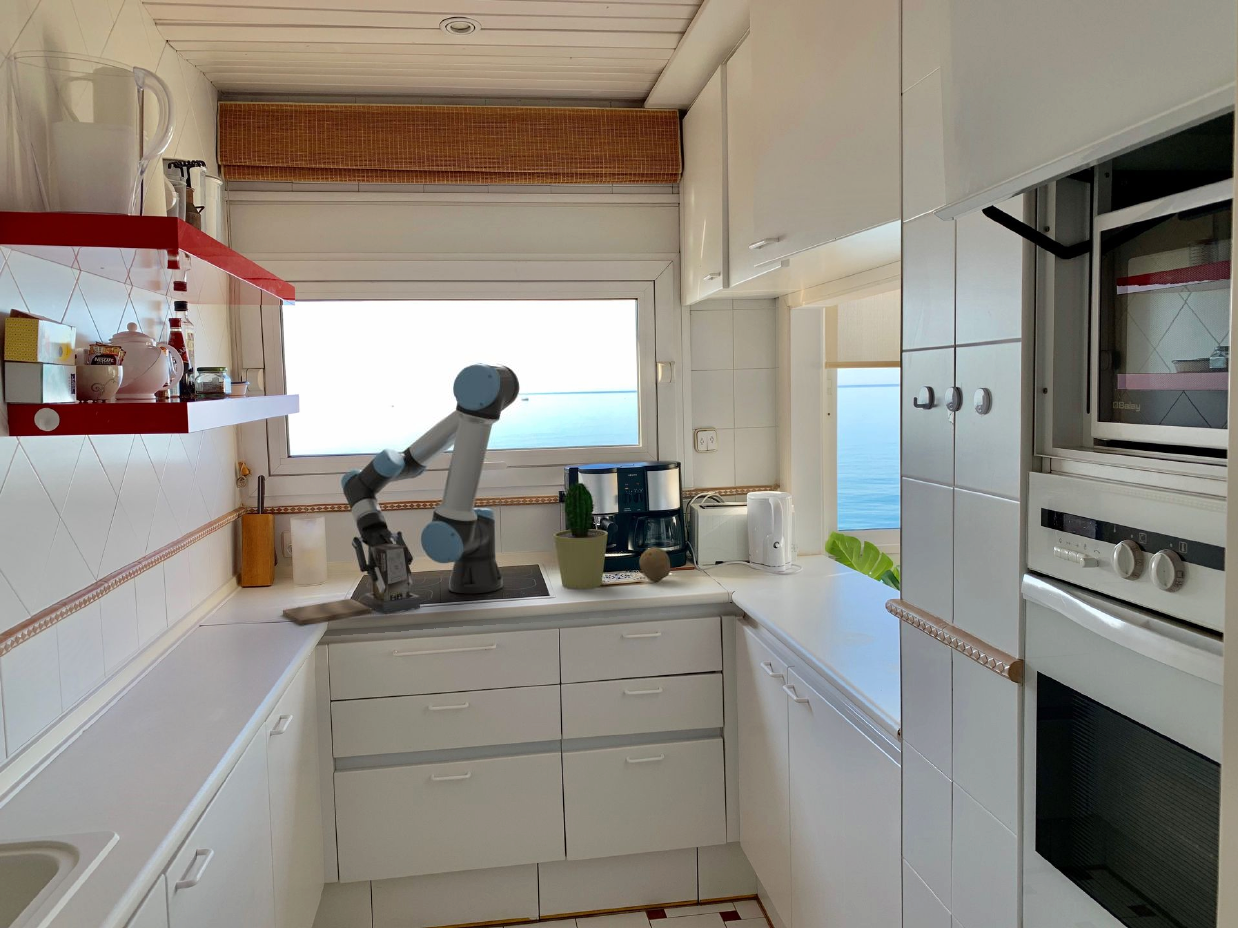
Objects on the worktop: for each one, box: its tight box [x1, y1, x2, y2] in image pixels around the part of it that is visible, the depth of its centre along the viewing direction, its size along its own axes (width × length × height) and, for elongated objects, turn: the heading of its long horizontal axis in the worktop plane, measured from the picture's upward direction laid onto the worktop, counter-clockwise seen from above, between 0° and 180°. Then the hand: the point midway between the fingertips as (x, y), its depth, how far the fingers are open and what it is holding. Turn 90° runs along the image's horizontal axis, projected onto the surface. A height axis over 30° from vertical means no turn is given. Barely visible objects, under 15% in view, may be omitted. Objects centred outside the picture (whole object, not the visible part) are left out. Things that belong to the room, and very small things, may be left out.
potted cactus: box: [553, 481, 609, 590], centre depth 263 cm, size 15×15×30 cm
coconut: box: [638, 546, 671, 583], centre depth 266 cm, size 9×9×10 cm
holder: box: [363, 591, 421, 615], centre depth 244 cm, size 10×13×3 cm
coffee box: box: [371, 542, 411, 601], centre depth 243 cm, size 9×6×16 cm
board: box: [282, 598, 372, 626], centre depth 237 cm, size 18×14×1 cm
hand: (396, 588), depth 241 cm, fingers closed on coffee box, 7 cm apart
